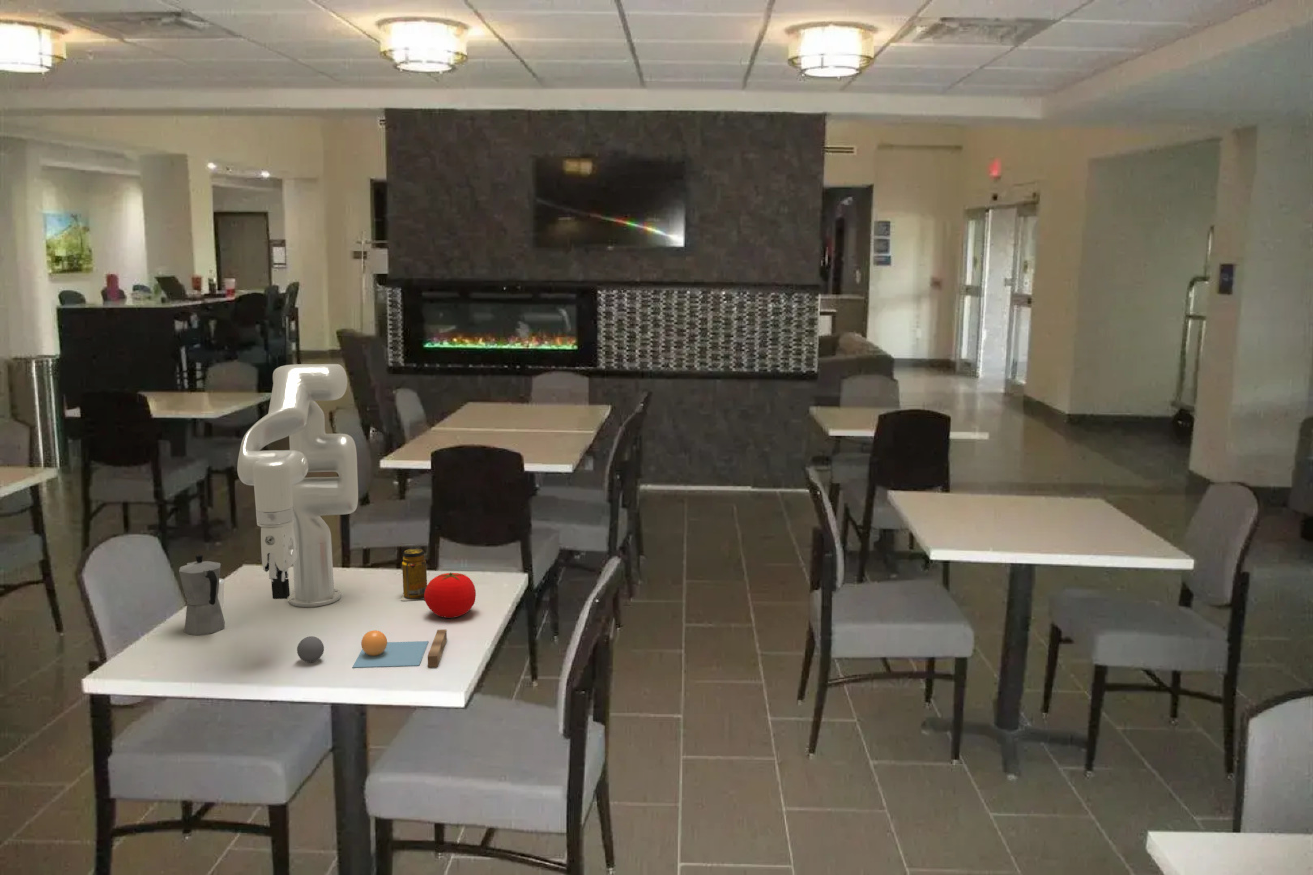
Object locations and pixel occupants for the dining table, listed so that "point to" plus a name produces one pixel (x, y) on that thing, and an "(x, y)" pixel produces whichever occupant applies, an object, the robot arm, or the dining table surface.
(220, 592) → the shot glass
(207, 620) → the coffeepot
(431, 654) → the stopper wall
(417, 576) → the condiment
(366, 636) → the object ball
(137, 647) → the dining table surface
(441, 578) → the tomato
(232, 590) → the dining table surface
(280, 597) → the robot arm
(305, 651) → the gray sphere
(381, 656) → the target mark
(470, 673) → the dining table surface
